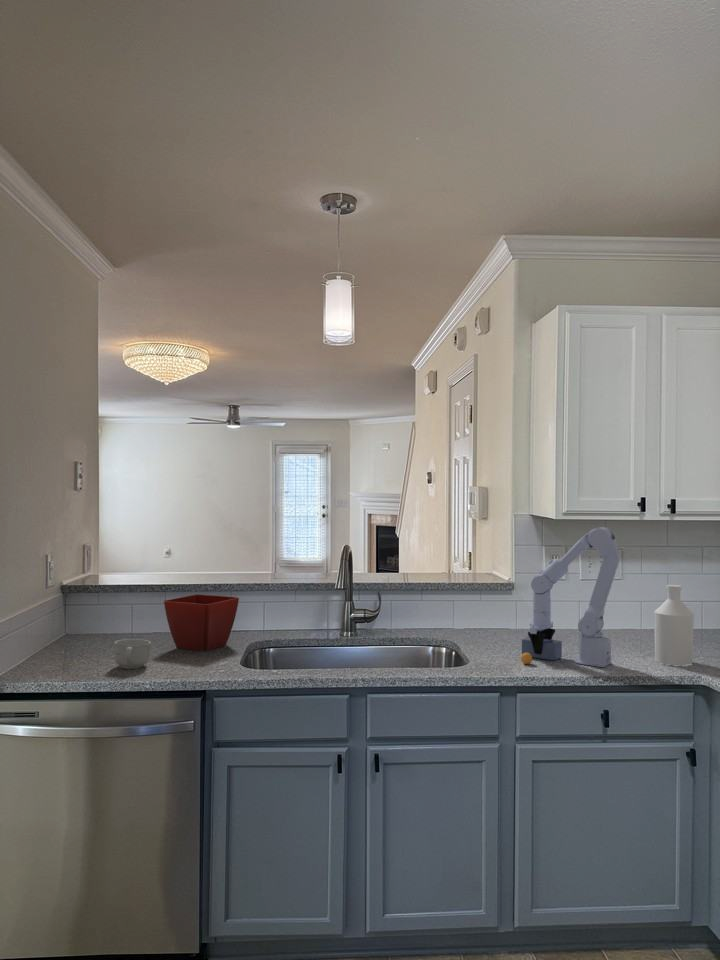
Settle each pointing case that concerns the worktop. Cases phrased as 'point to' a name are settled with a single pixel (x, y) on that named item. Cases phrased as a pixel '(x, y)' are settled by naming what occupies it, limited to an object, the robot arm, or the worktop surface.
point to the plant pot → (201, 620)
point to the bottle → (673, 630)
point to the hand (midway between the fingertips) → (541, 652)
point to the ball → (526, 658)
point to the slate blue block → (544, 649)
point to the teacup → (131, 653)
